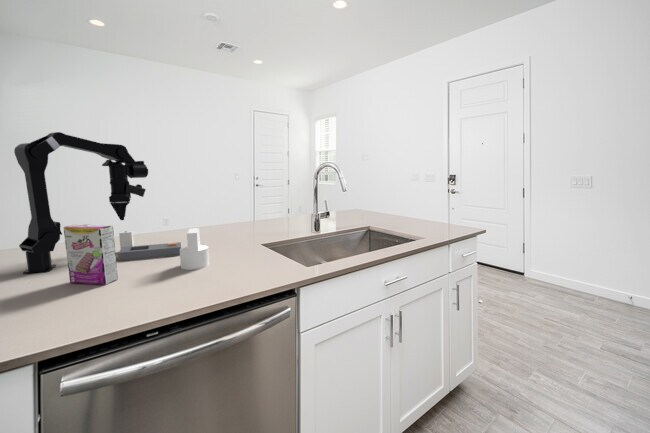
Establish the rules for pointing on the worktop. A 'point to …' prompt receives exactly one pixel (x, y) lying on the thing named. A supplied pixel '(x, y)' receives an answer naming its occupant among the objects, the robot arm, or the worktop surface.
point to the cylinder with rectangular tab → (194, 252)
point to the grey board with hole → (149, 251)
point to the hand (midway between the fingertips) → (122, 218)
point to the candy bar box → (91, 254)
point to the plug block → (126, 239)
